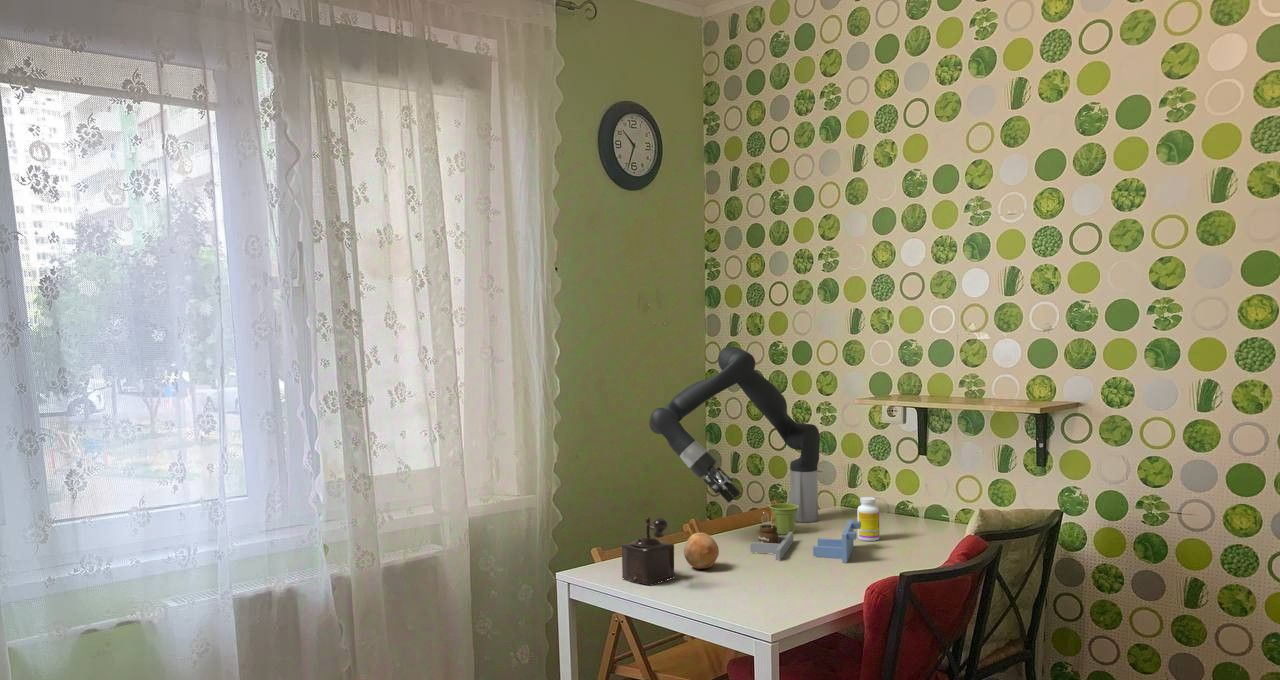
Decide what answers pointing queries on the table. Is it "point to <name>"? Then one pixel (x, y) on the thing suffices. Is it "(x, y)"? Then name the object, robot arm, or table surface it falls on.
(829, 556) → the blue rail with prongs
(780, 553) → the grey rail with prongs
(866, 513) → the supplement bottle
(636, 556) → the manual coffee grinder
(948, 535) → the table surface
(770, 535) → the utensil holder
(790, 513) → the plant pot
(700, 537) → the onion
